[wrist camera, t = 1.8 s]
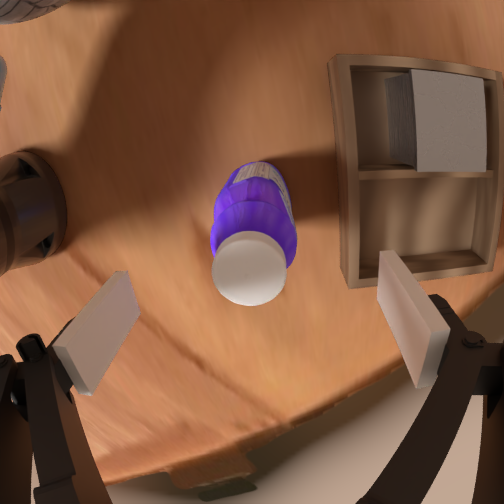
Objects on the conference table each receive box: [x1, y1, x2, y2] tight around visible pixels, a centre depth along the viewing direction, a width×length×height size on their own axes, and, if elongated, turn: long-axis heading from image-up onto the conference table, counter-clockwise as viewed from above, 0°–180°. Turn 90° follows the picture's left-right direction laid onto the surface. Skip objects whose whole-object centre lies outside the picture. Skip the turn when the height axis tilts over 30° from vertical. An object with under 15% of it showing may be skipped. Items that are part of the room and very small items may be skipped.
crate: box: [327, 54, 504, 289], centre depth 28 cm, size 18×22×5 cm
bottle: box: [211, 161, 297, 306], centre depth 25 cm, size 7×6×17 cm
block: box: [384, 69, 487, 172], centre depth 24 cm, size 7×8×7 cm
